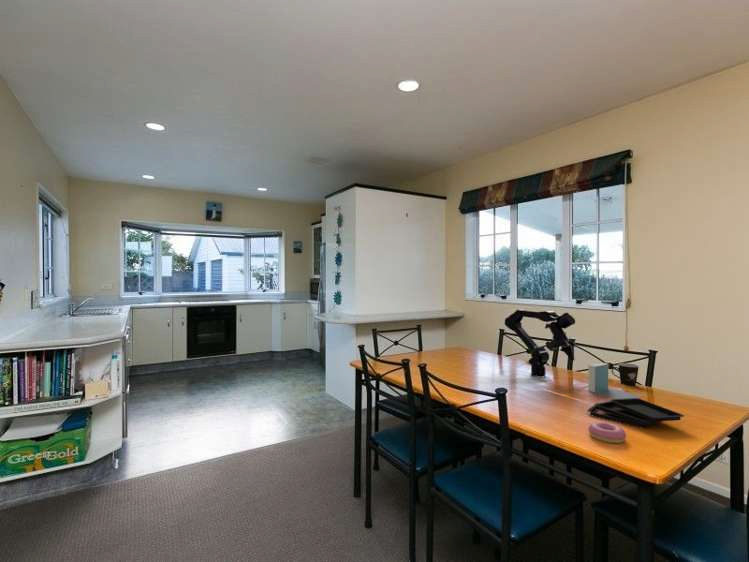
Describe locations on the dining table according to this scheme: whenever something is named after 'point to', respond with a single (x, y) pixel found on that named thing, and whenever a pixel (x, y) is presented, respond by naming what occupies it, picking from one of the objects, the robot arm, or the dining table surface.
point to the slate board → (614, 394)
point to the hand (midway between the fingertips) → (573, 360)
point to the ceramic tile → (598, 377)
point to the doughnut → (607, 432)
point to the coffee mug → (627, 373)
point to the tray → (634, 412)
